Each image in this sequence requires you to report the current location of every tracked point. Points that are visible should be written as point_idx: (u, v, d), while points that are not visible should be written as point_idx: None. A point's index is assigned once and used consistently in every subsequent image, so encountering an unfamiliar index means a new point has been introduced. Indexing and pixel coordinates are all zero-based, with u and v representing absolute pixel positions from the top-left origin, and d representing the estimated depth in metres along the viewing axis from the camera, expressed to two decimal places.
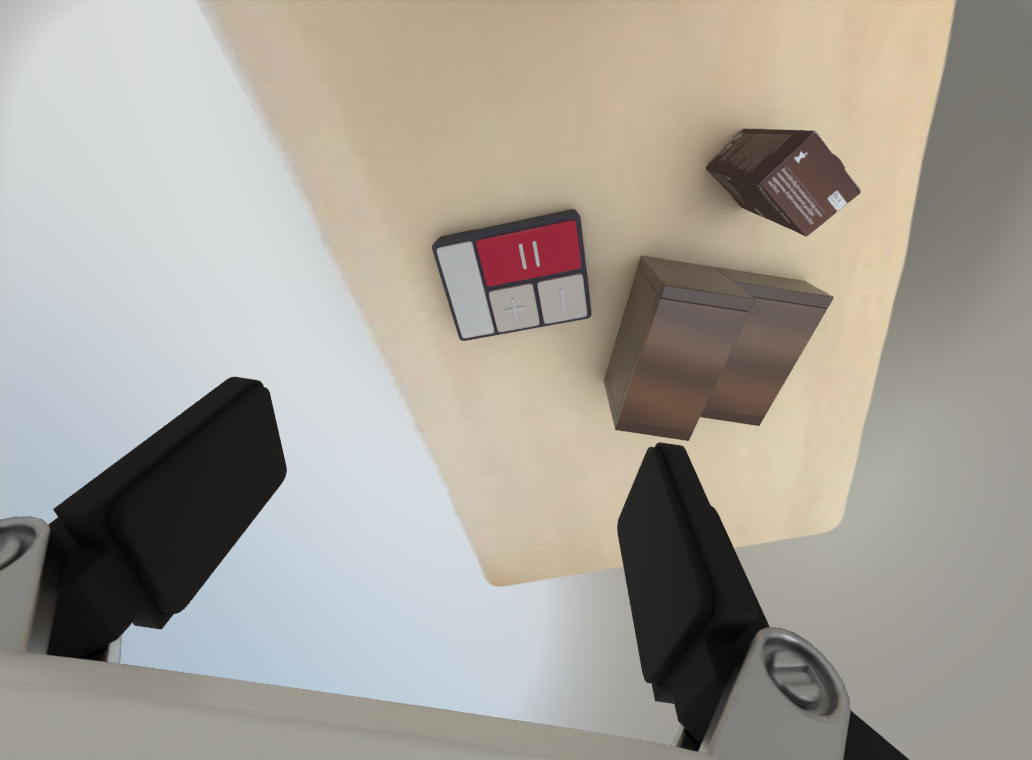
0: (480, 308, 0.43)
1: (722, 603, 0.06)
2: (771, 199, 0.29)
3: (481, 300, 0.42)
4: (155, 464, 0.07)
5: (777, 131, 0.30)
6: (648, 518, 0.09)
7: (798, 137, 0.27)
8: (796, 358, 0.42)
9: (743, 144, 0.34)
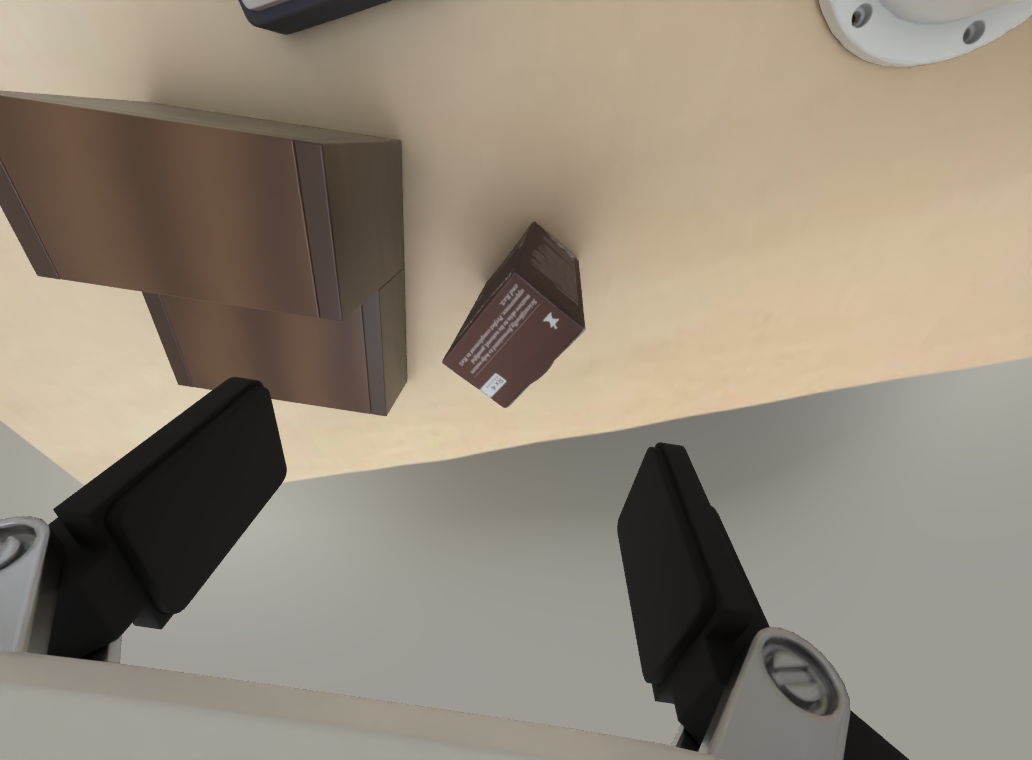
0: None
1: (722, 603, 0.06)
2: (490, 298, 0.17)
3: None
4: (155, 464, 0.07)
5: (580, 291, 0.21)
6: (648, 518, 0.09)
7: (576, 312, 0.18)
8: (296, 400, 0.30)
9: (562, 259, 0.24)
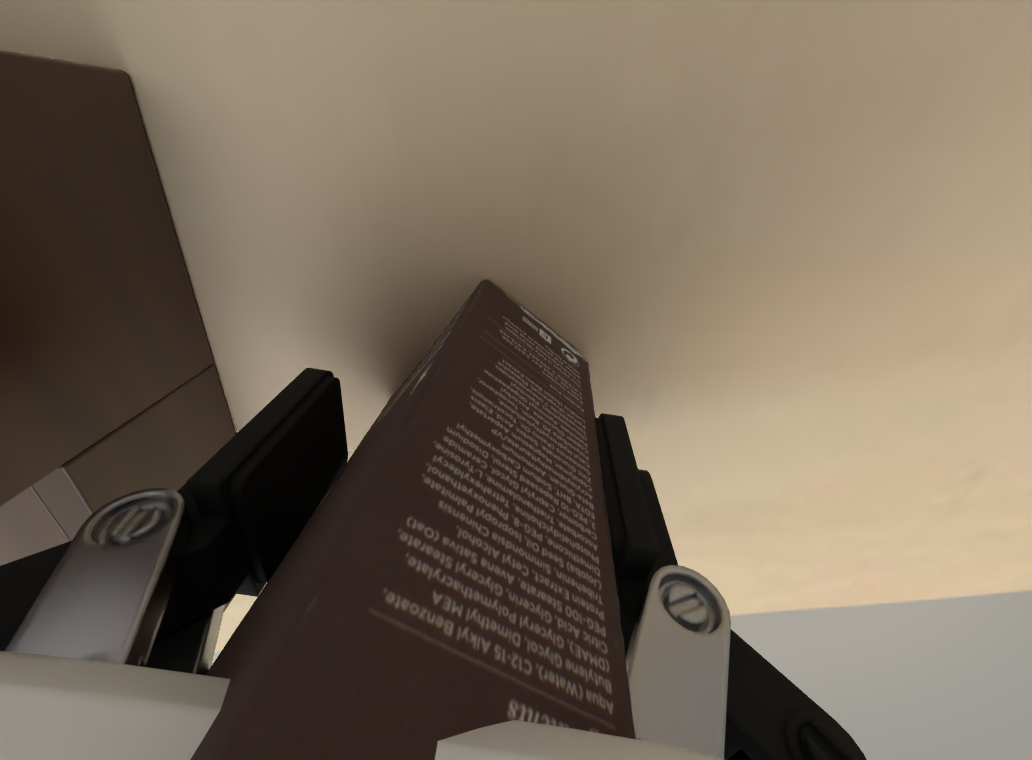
0: None
1: (630, 544, 0.07)
2: None
3: None
4: (261, 444, 0.07)
5: (608, 559, 0.06)
6: None
7: None
8: None
9: (551, 393, 0.09)
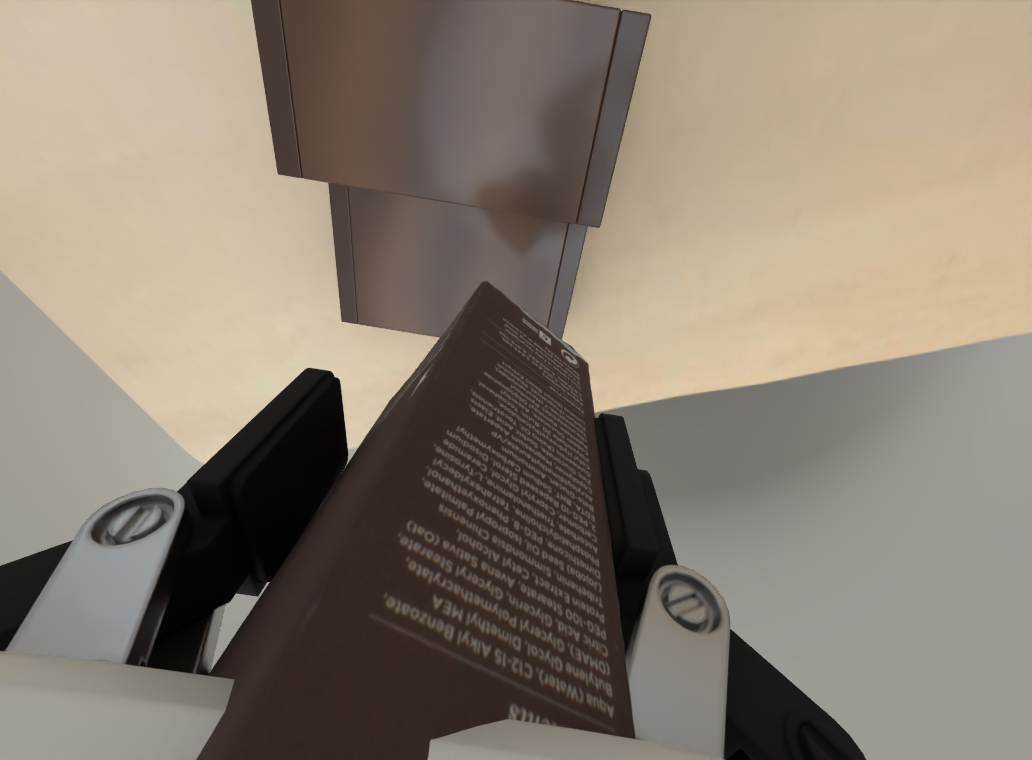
0: None
1: (629, 544, 0.07)
2: None
3: None
4: (261, 444, 0.07)
5: (608, 561, 0.06)
6: None
7: None
8: None
9: (550, 395, 0.09)
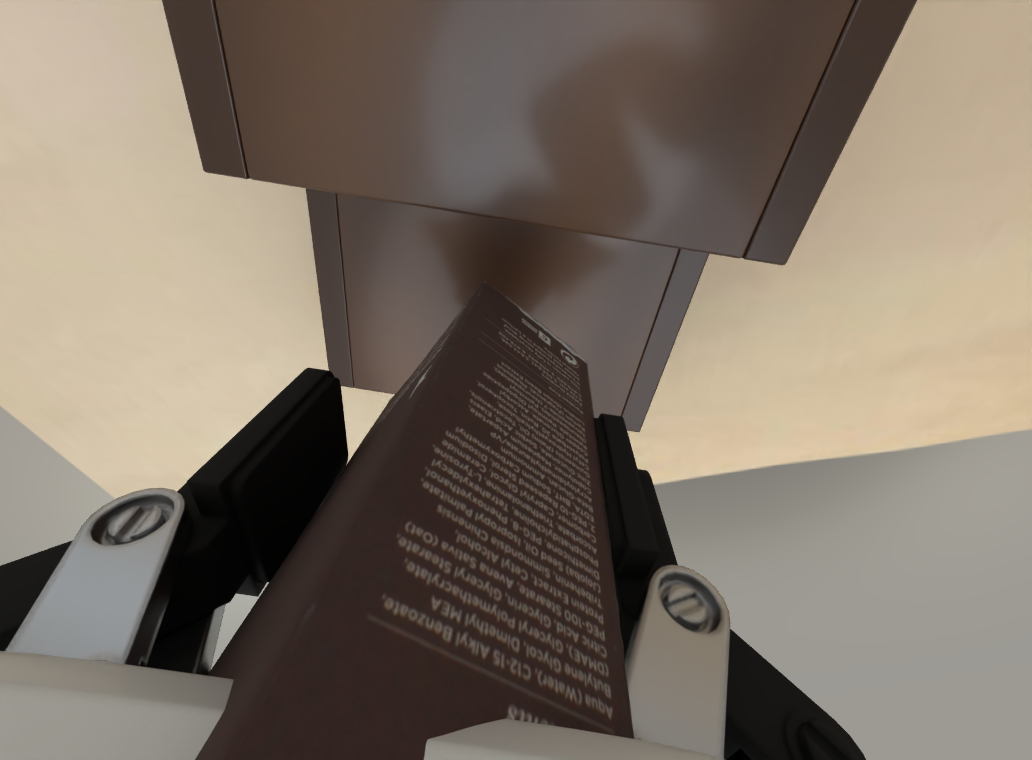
0: None
1: (629, 544, 0.07)
2: None
3: None
4: (261, 444, 0.07)
5: (607, 562, 0.06)
6: None
7: None
8: None
9: (550, 395, 0.09)
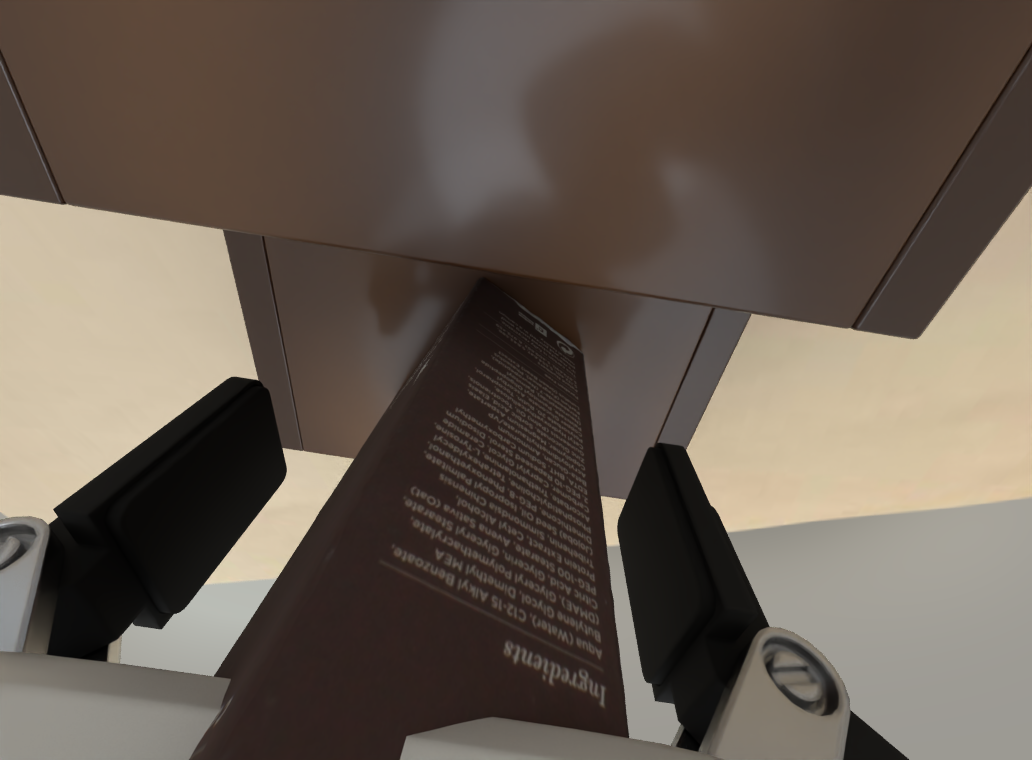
0: None
1: (722, 603, 0.06)
2: None
3: None
4: (155, 464, 0.07)
5: (599, 529, 0.07)
6: (648, 518, 0.09)
7: None
8: None
9: (545, 382, 0.09)
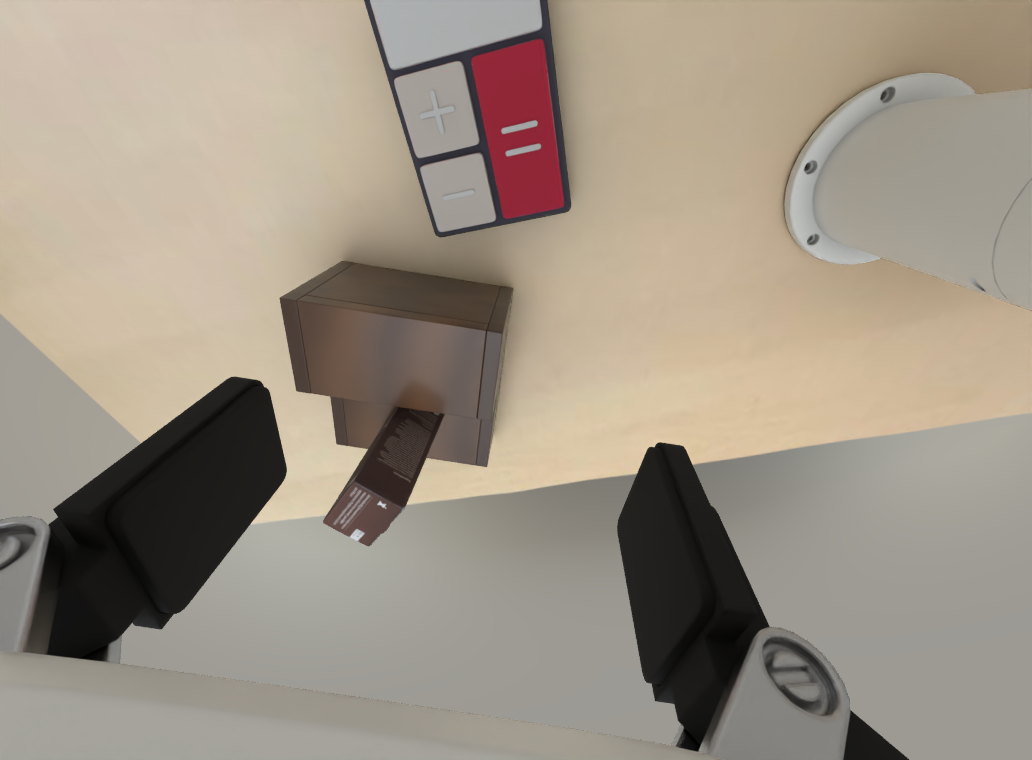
0: (430, 42, 0.25)
1: (722, 603, 0.06)
2: (344, 491, 0.28)
3: (445, 44, 0.25)
4: (155, 464, 0.07)
5: (422, 461, 0.32)
6: (648, 518, 0.09)
7: (402, 493, 0.29)
8: None
9: (421, 426, 0.35)
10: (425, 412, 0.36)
